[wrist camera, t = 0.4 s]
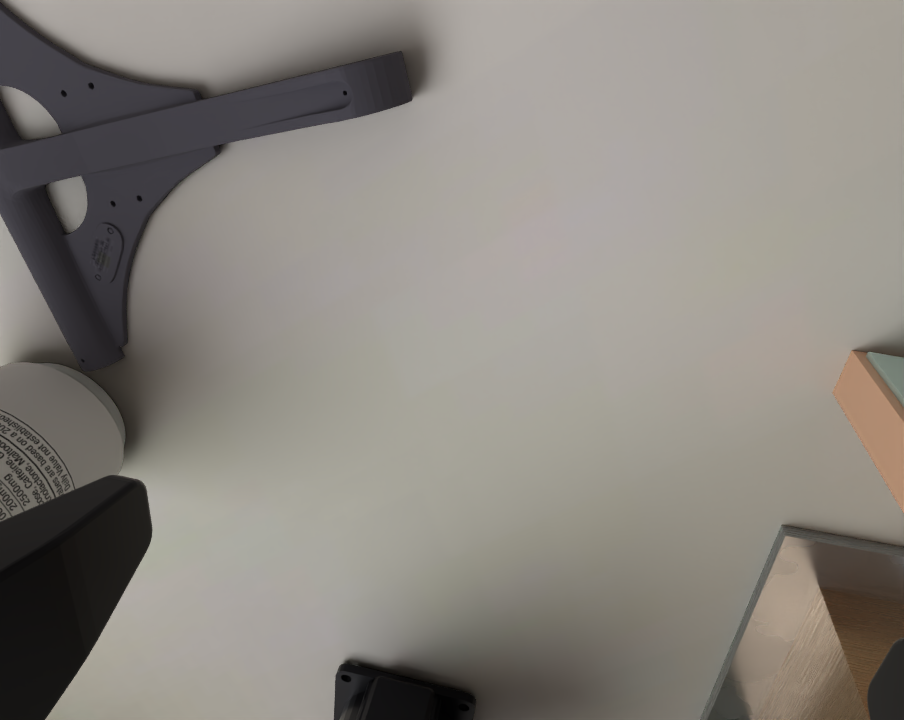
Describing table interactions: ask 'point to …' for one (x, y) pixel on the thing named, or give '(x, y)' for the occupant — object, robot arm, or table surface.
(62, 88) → the bracket
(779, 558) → the block on grey plate
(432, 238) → the table surface
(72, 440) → the energy drink can
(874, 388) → the tile
